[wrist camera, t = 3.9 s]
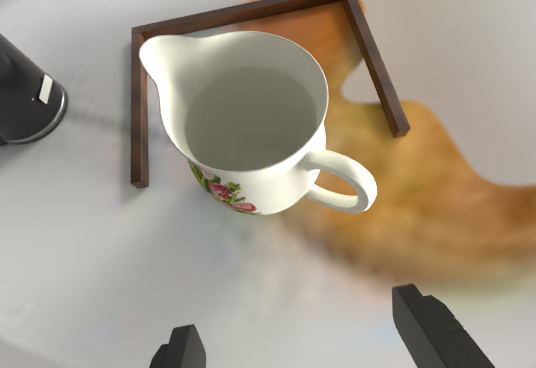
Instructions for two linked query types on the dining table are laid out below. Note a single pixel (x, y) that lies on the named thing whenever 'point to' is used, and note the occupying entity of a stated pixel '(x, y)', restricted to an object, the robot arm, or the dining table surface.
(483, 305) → the dining table surface
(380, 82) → the bay
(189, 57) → the pitcher
